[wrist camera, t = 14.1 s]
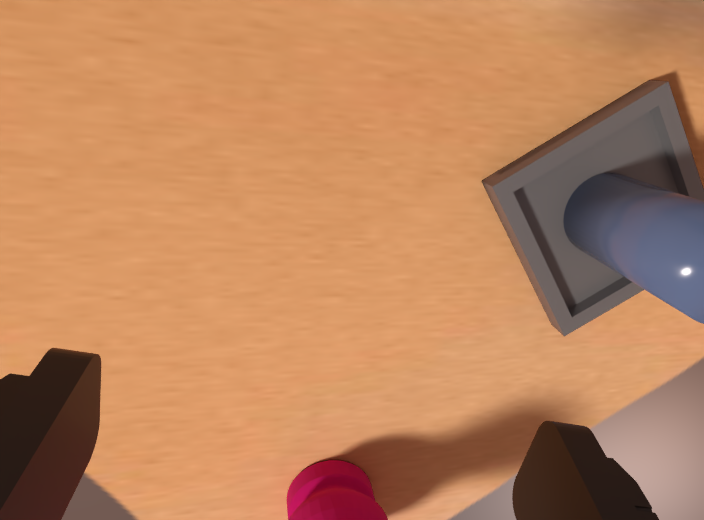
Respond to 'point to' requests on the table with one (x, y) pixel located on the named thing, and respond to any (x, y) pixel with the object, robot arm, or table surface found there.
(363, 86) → the table surface
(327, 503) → the pepper mill
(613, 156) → the tray
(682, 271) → the blue-grey cylinder
